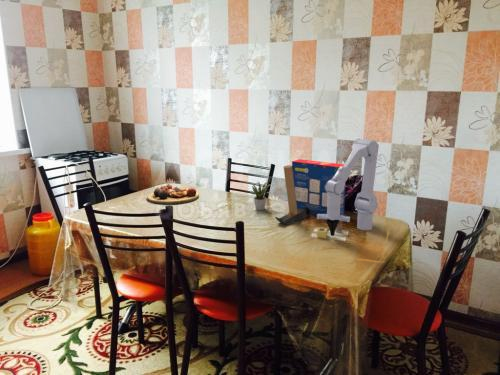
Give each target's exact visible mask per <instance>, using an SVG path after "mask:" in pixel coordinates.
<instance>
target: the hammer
mask: <svg viewBox="0 0 500 375" xmlns="http://www.w3.org/2000/svg"><path fill="white" fill-rule="evenodd" d="M283 172H284V179H285V180H284V181H285V189H286V195H287V203H288V204H287V206H288V211H289V212H288V213H287V214H285V215H283V216H281V217H276V216H275V217H274V218H275V219H276V221H278V222H279V223H281V224H284V225H291V224H294V223H297V222H300V221H302V220H304V219H306V218H307V216H308V215H311V214H310V210H309V208H308V207H304V208H303V209H300V208H298V209H297V204H296V195H295V187H294V179H293V171H292V164H291V165H290V164H289V165H288V164H287V165H284V166H283Z"/></svg>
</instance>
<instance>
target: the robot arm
mask: <svg viewBox="0 0 500 375" xmlns="http://www.w3.org/2000/svg"><path fill="white" fill-rule="evenodd" d="M379 146H380V144H378V142H377V141H376V140H371V139H370V140H369V139H364V138H363V139H362V138H357V139H355V140H354V142H353V144H352V146H351V147H352V150H351V152H350V154H349V156H348V157H347V160H346V161H345V163H344V164H345V165H344V166H341V167H340V168H339V169H338V171H337V172H336V174H335V175H334V177H333V178H332V180H329V181H328V182H327V183H326V186H325V190H326V191H327V196H328V202H327V214H317V216H316V219H317V220H326V225H327V226H328V229H330V233H331V236H334V234H335V230H336V227H337V225H338V223H339V221H342V222H346V223H350V221H351V216H347V215H344V216H342V215H340V201H341V193H342V192H343V191H344V186H345V187H346V182H347V180H348V179H349V177H350V176H351V174H352V171H351V170H352V169H353V167H354V166H355V165H356V163H357V162H358V161H359V159H360V158H364V165H363V174H362V182H361V183H362V184H361V190H360V192H358V193H357V194H356V197H355V201H354V208H355V209H356V212H357V220H356V228H357V230H361V231H371V230H373V225H374V224H373V223H374V214H375V213H376V211H377V209H378V207H379V206H378V205H379V204H378V197H377V196H376V195H375V193H374V186H375V180H376V179H375V178H376V170H377V161H378V156H379Z"/></svg>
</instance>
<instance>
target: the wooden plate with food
mask: <svg viewBox="0 0 500 375" xmlns="http://www.w3.org/2000/svg"><path fill="white" fill-rule="evenodd" d="M199 197H200V193H199V192H198V191H197V190H196V188H193V187H190V188H187V187H186V188H179V187H178V186H175V187H174V188H173V186H172V185H171V184H170V183H169V184H166V186H165V185H163V186H162V185H161V186H160V187H156V188H155V189H154V191H153V192H151V193H150V194H148V195H147V199H148V200H149V201H151V202H150V203H152V202H155V203H154V204H157V203H159V205H174V204H176V205H177V203H178V204H185V203H190V202H193V201H195V200H197V199H198V198H199ZM147 199H146V200H147ZM148 200H147V201H148ZM149 201H148V202H149Z"/></svg>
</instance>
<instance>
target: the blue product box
mask: <svg viewBox="0 0 500 375" xmlns="http://www.w3.org/2000/svg"><path fill="white" fill-rule="evenodd" d="M344 165H345V163H338V162H337V163H334V162H327V161H318V160H311V159H310V160H309V159H295V160H292V161H291V166H292V171H293V179H294V187H295V195H296V204H297V209H298V208H300V209H303V208H304V207H308V208H309V210H310V214H309V215H312V216H316V217H317V214H327V202H328V196H327V191H326V190H325V186H326V183H327V182H328V181H329V180H332V178H333V177H334V175H335V174H336V172H337V171H338V169H339V168H340V167H341V166H344ZM345 196H346V185H345V186H344V191H343V192H342V193H341V201H340V215H342V216H345V200H346V199H345Z"/></svg>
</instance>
